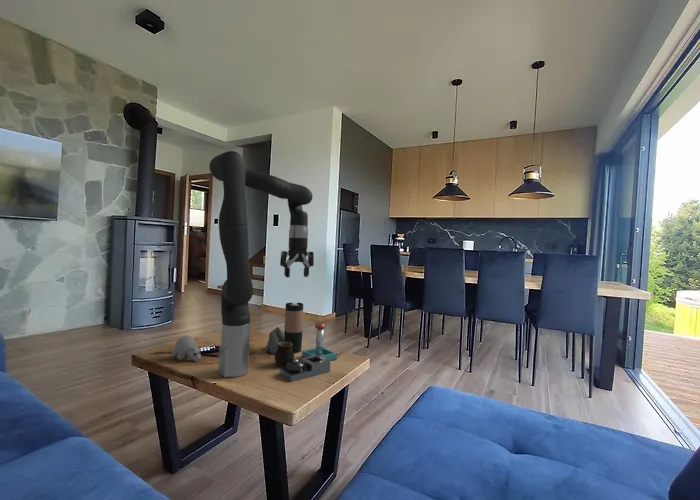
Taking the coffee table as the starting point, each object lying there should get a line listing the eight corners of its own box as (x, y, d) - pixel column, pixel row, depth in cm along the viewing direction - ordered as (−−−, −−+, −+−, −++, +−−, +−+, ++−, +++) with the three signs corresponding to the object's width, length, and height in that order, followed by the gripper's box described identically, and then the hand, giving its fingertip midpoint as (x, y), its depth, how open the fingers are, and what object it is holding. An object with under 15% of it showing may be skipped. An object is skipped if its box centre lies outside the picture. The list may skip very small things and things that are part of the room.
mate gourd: (285, 360, 132) (287, 334, 132) (298, 365, 127) (299, 339, 127) (270, 364, 126) (271, 337, 126) (283, 370, 121) (284, 342, 121)
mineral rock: (282, 343, 153) (282, 321, 153) (297, 349, 146) (298, 326, 146) (257, 349, 143) (258, 326, 143) (273, 356, 136) (274, 331, 136)
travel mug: (292, 354, 138) (294, 306, 138) (279, 350, 143) (281, 303, 143) (305, 350, 144) (307, 304, 144) (293, 346, 149) (294, 301, 149)
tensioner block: (291, 381, 111) (291, 365, 111) (279, 374, 117) (279, 358, 117) (330, 371, 121) (330, 356, 121) (317, 365, 128) (317, 350, 127)
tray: (315, 364, 128) (316, 357, 128) (301, 356, 136) (302, 350, 136) (336, 359, 135) (336, 353, 135) (322, 352, 142) (322, 346, 142)
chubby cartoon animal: (187, 371, 123) (194, 351, 122) (167, 353, 128) (173, 334, 126) (204, 365, 130) (210, 346, 128) (184, 348, 134) (190, 330, 133)
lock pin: (317, 359, 132) (319, 325, 132) (311, 356, 136) (313, 323, 135) (326, 357, 135) (327, 324, 135) (320, 354, 138) (321, 322, 138)
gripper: (287, 236, 129) (285, 278, 129) (318, 237, 138) (316, 277, 138) (278, 236, 135) (276, 276, 135) (308, 237, 144) (306, 275, 144)
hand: (296, 277), depth 137 cm, fingers open, 8 cm apart
